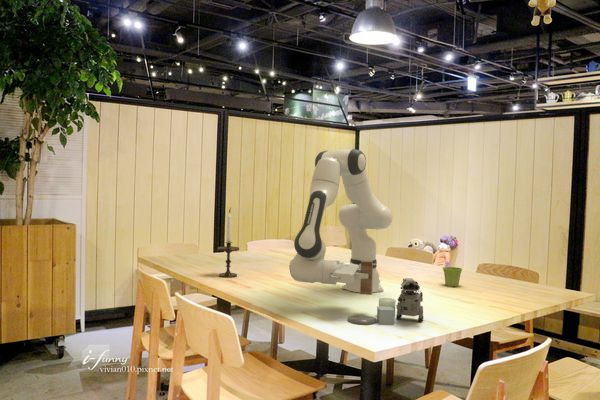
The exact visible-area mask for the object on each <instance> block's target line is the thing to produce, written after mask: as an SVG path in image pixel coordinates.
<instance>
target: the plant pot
mask: <svg viewBox="0 0 600 400" xmlns="http://www.w3.org/2000/svg"><path fill="white" fill-rule="evenodd" d="M462 270H463V268H462V267H459V266H458V267H457V266H444V267H442V271H443V273H444V283H445V286H446V287H450V288H453V287H456V288H457V287H459V285H460V279H461V273H462Z"/></svg>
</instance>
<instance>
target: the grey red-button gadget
mask: <svg viewBox="0 0 600 400" xmlns="http://www.w3.org/2000/svg"><path fill="white" fill-rule="evenodd" d="M400 285H401V286H400V295H399V296H398V298H397V304H395V309H396V314H395V319H396V320H398V321H399V320H400V319H401V318H402V317H403V316H406V317H418V318H417V322H418V323H423V321H424V307H423V305H421V303H422V302H424V301H423V299H424V298H423V292H422V291H420V288H421V286H420V284H419V282H418V281H417V280H414V278H412V277H411V278H410V277H407V278H402V282H401V284H400Z"/></svg>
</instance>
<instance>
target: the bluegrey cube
mask: <svg viewBox="0 0 600 400" xmlns="http://www.w3.org/2000/svg"><path fill="white" fill-rule="evenodd" d="M376 307H377V308H376V319H377V322H378V324H379V325H395V317H394V314H395V315H396V309H395V310H394V309H393V308H392V307H382V306H379V305H378V306H376Z"/></svg>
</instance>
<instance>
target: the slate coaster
mask: <svg viewBox="0 0 600 400" xmlns="http://www.w3.org/2000/svg"><path fill="white" fill-rule="evenodd" d="M347 321H348V322H349V323H351V324H354V325H361V326H369V325H375V324H377V322H378V321H377V317H374V316H372V315H371V316H370V315H364V314H354V315H349V316H347Z"/></svg>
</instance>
